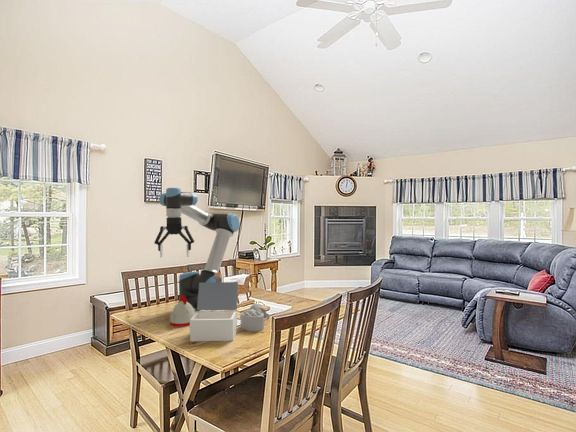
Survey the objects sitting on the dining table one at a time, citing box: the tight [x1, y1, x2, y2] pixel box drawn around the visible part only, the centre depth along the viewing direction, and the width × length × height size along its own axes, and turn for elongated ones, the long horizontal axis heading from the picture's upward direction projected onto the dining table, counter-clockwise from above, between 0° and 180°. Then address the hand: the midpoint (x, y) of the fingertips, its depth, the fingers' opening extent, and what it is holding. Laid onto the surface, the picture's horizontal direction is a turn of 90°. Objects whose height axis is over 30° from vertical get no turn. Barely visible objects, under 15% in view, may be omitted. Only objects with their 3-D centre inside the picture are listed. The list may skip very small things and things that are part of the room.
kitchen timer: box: [169, 295, 196, 328], centre depth 189 cm, size 14×14×15 cm
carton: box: [189, 310, 238, 342], centre depth 168 cm, size 14×20×10 cm
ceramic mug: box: [249, 303, 271, 319], centre depth 194 cm, size 11×8×8 cm
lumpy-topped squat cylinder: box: [240, 308, 265, 332], centre depth 180 cm, size 10×13×9 cm
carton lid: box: [197, 272, 239, 311], centre depth 177 cm, size 18×20×6 cm
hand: (174, 256), depth 184 cm, fingers open, 13 cm apart
